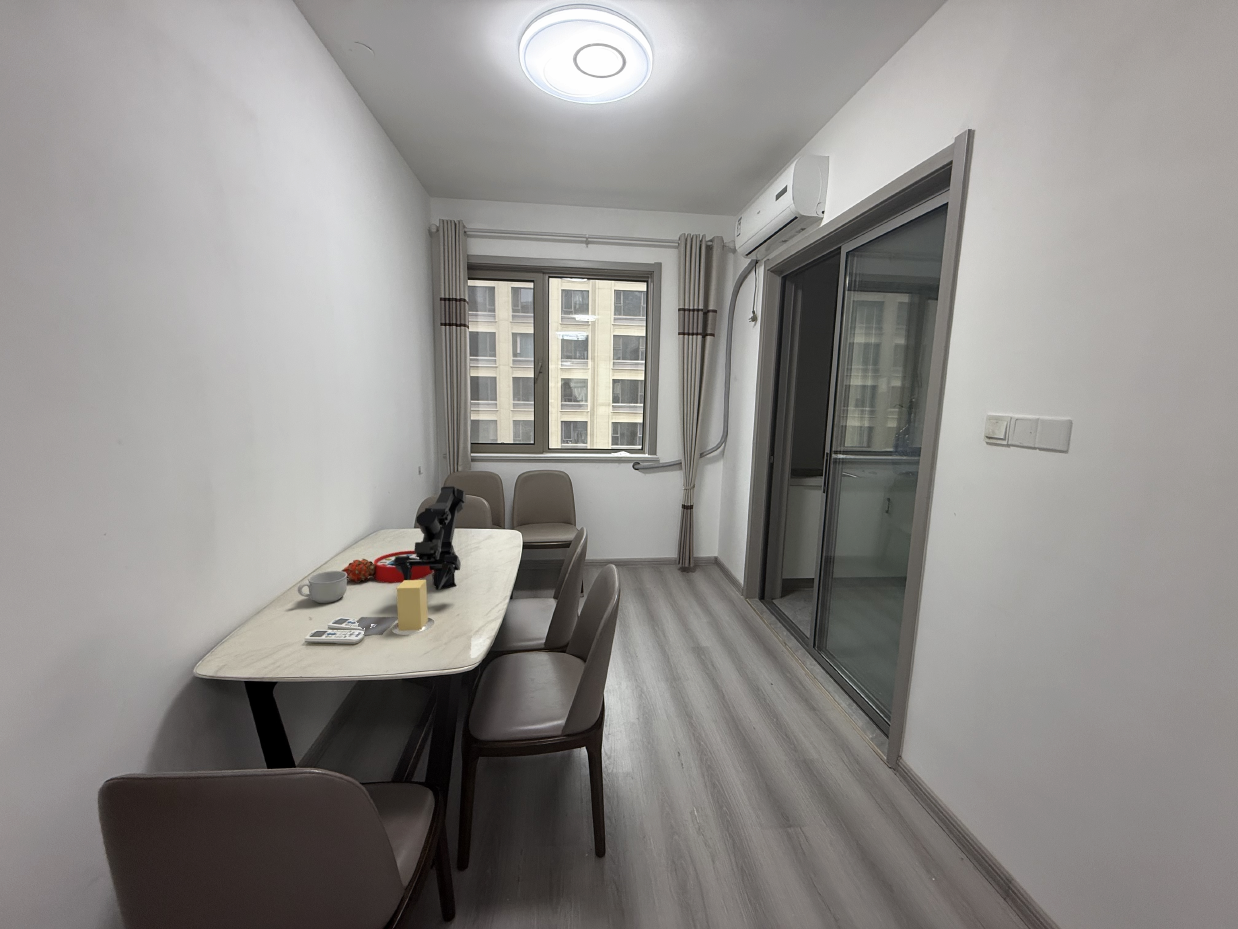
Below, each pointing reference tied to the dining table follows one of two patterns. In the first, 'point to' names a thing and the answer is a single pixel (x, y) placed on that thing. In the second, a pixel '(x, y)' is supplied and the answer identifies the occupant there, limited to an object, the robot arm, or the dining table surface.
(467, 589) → the dining table surface
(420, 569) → the toy clock
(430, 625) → the silver metal disc
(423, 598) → the tan wooden brick
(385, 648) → the dining table surface
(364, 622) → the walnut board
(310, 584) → the teacup
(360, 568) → the dragon fruit
